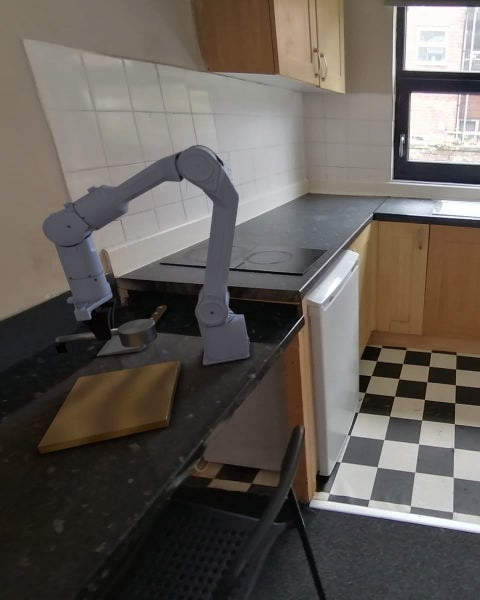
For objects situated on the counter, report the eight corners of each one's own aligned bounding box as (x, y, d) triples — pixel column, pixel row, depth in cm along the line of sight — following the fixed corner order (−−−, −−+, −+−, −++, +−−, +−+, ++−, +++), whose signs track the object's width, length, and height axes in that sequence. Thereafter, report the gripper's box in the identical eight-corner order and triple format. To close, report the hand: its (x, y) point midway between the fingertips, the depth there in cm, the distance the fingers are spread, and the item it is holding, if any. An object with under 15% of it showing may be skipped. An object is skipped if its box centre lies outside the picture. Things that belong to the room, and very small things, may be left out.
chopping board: (180, 366, 86) (179, 360, 86) (168, 426, 69) (166, 419, 69) (81, 383, 80) (78, 377, 80) (40, 454, 63) (37, 446, 63)
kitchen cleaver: (136, 308, 111) (174, 303, 113) (137, 311, 112) (175, 306, 113) (92, 354, 89) (141, 348, 91) (94, 358, 90) (142, 352, 91)
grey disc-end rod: (159, 330, 87) (156, 317, 86) (154, 344, 82) (150, 330, 80) (65, 344, 82) (60, 330, 80) (53, 360, 76) (47, 345, 75)
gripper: (73, 264, 80) (93, 325, 86) (43, 291, 68) (70, 359, 74) (114, 261, 83) (131, 319, 88) (92, 285, 70) (115, 352, 76)
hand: (106, 337), depth 81 cm, fingers closed on grey disc-end rod
